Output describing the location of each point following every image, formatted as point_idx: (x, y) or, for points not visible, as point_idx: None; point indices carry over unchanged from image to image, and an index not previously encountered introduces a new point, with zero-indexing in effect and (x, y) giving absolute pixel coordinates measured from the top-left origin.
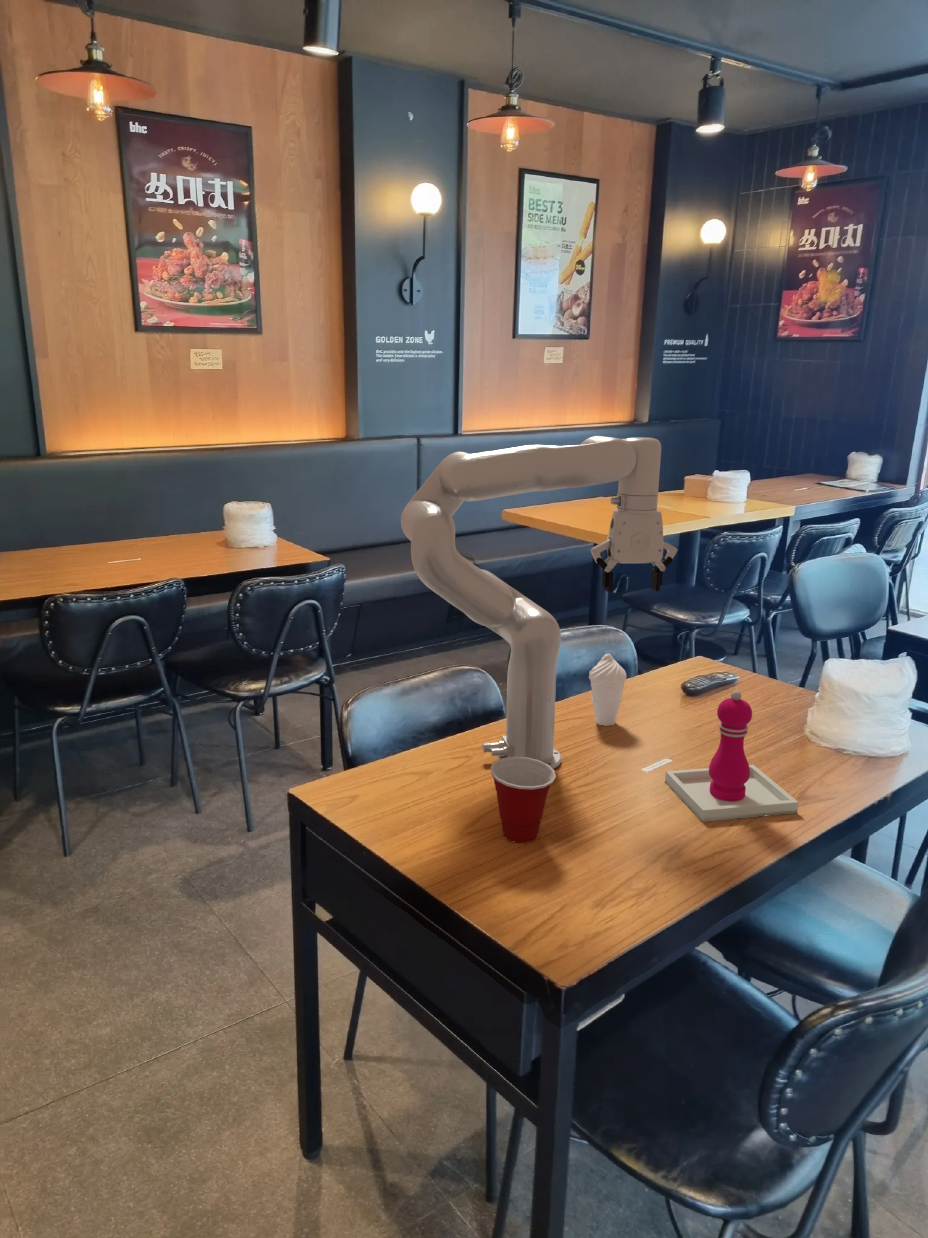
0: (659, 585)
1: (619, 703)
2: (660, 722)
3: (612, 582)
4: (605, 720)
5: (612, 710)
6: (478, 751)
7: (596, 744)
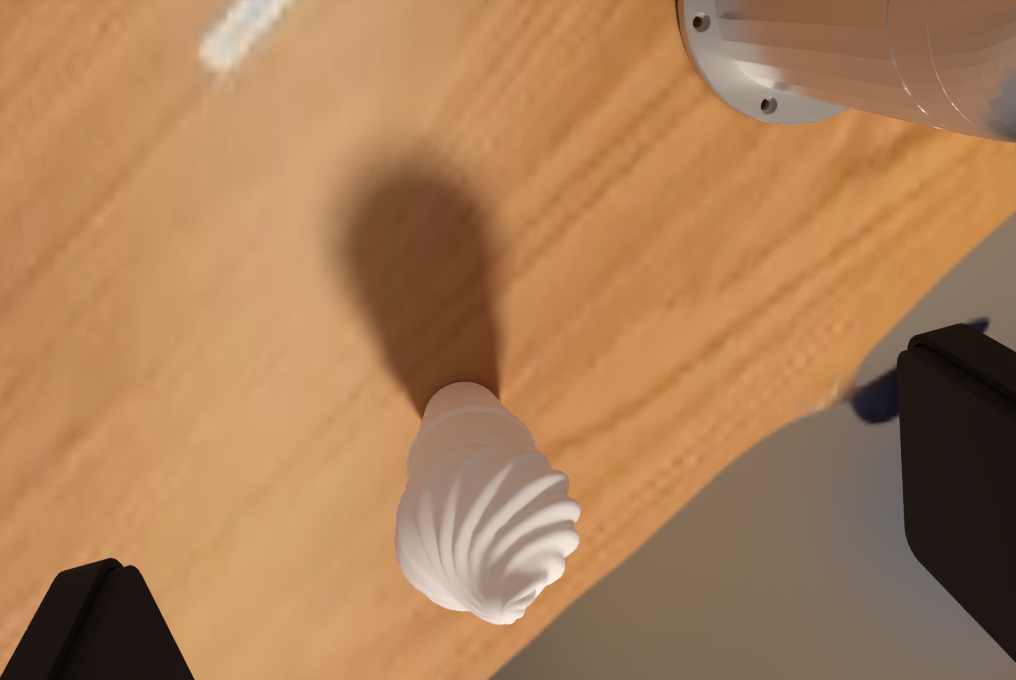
0: (34, 628)
1: (418, 434)
2: (236, 452)
3: (1013, 418)
4: (468, 387)
5: (446, 406)
6: None
7: (514, 192)
